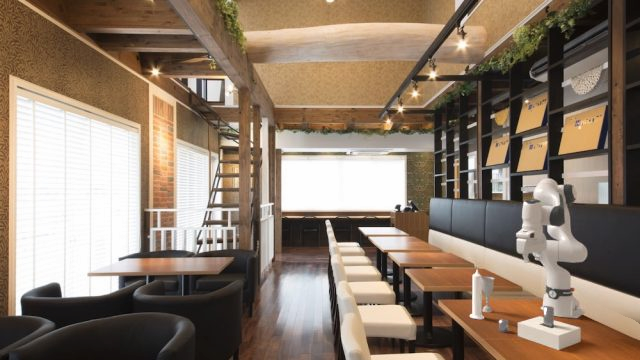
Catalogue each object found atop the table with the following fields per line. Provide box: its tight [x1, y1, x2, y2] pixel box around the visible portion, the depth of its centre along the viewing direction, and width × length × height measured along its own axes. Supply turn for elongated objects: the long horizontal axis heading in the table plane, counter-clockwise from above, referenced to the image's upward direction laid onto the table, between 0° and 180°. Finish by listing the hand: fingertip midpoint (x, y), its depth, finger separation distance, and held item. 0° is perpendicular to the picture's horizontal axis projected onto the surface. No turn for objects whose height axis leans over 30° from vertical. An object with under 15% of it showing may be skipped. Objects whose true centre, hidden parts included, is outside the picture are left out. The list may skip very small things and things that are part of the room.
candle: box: [469, 268, 485, 320], centre depth 206 cm, size 7×7×25 cm
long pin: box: [543, 306, 555, 328], centre depth 178 cm, size 4×4×14 cm
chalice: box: [482, 276, 495, 313], centre depth 217 cm, size 7×7×18 cm
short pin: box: [498, 318, 509, 334], centre depth 187 cm, size 4×4×5 cm
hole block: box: [517, 315, 582, 351], centre depth 178 cm, size 18×18×6 cm
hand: (532, 261), depth 192 cm, fingers open, 8 cm apart
